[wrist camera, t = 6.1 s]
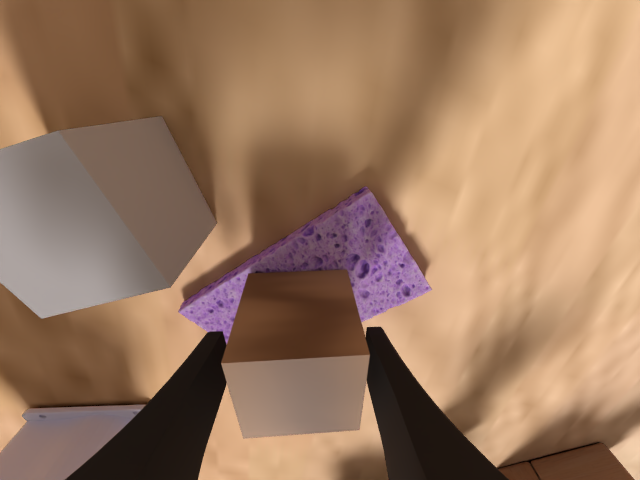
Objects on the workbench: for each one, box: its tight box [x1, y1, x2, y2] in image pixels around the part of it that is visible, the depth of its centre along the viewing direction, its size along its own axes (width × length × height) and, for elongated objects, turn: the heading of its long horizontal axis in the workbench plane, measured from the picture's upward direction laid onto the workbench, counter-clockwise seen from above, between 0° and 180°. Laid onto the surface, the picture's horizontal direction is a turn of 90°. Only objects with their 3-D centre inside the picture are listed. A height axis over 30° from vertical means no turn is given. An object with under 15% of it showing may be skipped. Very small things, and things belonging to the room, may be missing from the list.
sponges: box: [178, 186, 432, 344], centre depth 15 cm, size 7×13×2 cm, turn 124°
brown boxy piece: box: [221, 269, 370, 439], centre depth 12 cm, size 5×5×5 cm
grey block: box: [0, 116, 217, 319], centre depth 10 cm, size 5×5×5 cm
